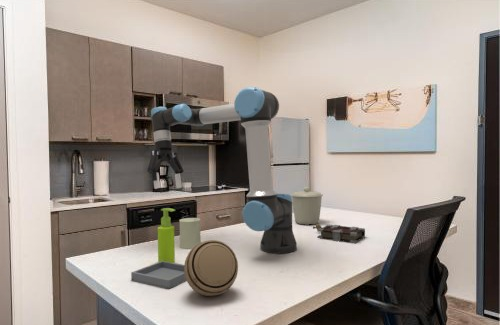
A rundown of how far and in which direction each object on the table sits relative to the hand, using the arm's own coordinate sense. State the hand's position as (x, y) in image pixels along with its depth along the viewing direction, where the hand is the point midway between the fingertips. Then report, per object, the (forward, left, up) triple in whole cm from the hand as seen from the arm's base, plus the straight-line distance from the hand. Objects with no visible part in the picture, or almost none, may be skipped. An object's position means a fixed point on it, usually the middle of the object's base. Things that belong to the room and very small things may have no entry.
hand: (168, 188), depth 152 cm
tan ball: (-49, +36, -25) cm, 66 cm away
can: (-10, -3, -25) cm, 27 cm away
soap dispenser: (-18, +20, -25) cm, 37 cm away
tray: (-28, +32, -25) cm, 49 cm away
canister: (-38, -73, -25) cm, 85 cm away
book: (-61, -46, -26) cm, 80 cm away
